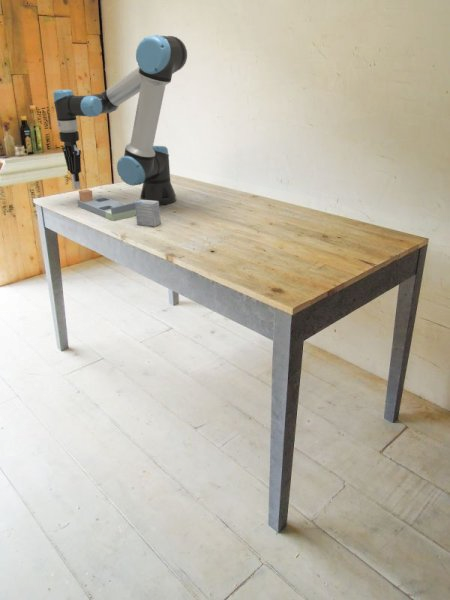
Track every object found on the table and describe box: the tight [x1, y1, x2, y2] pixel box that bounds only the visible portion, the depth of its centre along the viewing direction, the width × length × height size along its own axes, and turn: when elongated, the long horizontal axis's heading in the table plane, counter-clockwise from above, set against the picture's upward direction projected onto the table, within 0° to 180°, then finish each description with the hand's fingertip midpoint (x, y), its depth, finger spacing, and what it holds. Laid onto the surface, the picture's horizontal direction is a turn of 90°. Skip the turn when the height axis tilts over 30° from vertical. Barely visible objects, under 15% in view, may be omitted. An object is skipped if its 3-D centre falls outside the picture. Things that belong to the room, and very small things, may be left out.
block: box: [78, 189, 94, 202], centre depth 210 cm, size 4×4×4 cm
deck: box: [77, 195, 136, 222], centre depth 204 cm, size 30×11×5 cm, turn 41°
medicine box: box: [135, 199, 162, 227], centre depth 184 cm, size 8×4×9 cm, turn 65°
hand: (77, 188), depth 214 cm, fingers closed
